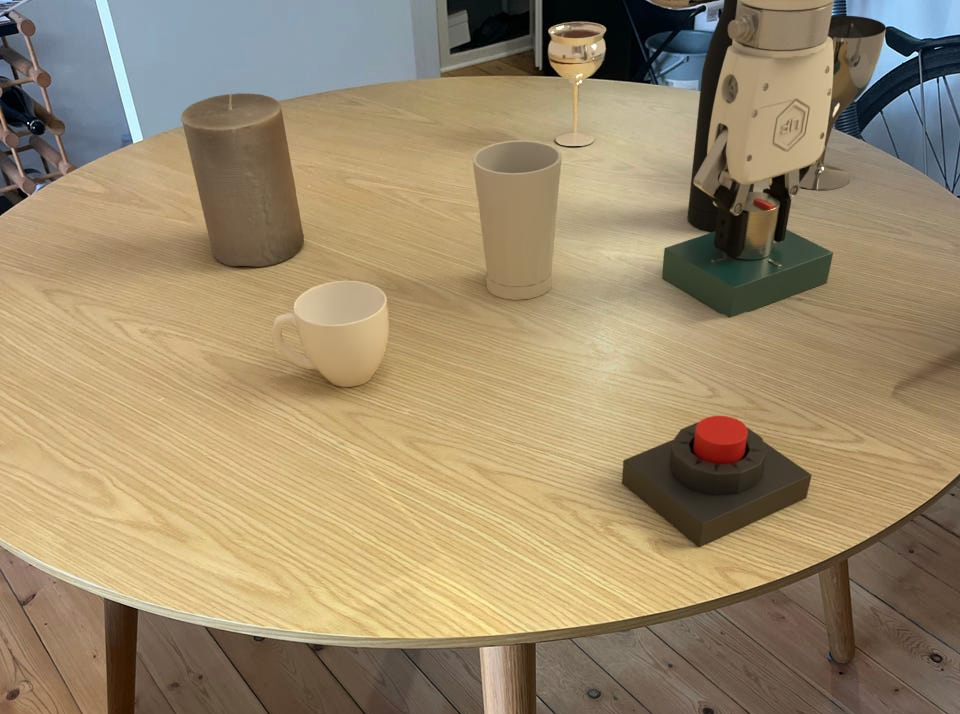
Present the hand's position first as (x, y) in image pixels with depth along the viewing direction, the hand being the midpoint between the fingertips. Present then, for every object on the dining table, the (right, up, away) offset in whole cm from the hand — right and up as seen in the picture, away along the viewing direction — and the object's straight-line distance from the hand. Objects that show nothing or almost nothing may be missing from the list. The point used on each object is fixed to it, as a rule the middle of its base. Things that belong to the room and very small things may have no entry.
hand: (749, 242), depth 96 cm
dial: (0, -1, +1) cm, 1 cm away
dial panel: (0, -3, +3) cm, 4 cm away
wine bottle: (0, +7, +13) cm, 14 cm away
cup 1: (-38, -14, -6) cm, 41 cm away
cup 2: (-21, -3, +4) cm, 22 cm away
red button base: (-8, -26, -20) cm, 34 cm away
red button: (-8, -24, -23) cm, 34 cm away
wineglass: (-14, +24, +30) cm, 41 cm away
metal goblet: (+13, +15, +19) cm, 27 cm away
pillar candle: (-49, +4, +12) cm, 50 cm away
